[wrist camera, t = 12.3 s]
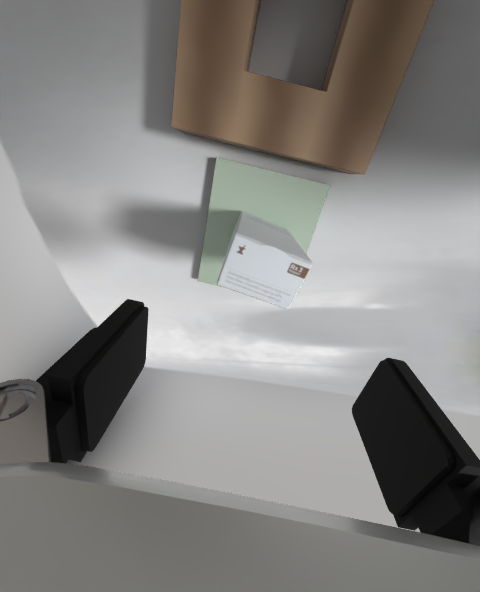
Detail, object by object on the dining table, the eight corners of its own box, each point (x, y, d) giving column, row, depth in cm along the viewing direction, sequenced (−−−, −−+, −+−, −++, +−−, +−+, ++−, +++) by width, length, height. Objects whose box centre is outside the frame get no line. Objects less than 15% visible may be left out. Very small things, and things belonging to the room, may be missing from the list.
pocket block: (463, -121, 18) (507, -184, 14) (351, 174, 26) (364, 174, 23) (212, -195, 17) (201, -278, 14) (182, 132, 25) (171, 126, 22)
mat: (327, 184, 27) (330, 185, 26) (288, 298, 33) (289, 301, 32) (218, 157, 26) (216, 157, 25) (199, 278, 32) (197, 281, 32)
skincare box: (228, 245, 29) (210, 288, 18) (242, 207, 27) (230, 230, 16) (276, 263, 30) (287, 316, 19) (293, 228, 28) (315, 263, 17)
